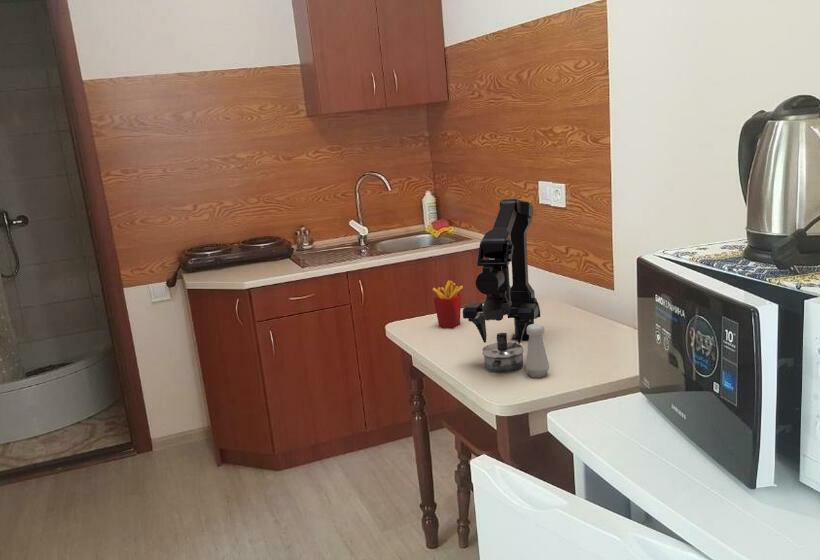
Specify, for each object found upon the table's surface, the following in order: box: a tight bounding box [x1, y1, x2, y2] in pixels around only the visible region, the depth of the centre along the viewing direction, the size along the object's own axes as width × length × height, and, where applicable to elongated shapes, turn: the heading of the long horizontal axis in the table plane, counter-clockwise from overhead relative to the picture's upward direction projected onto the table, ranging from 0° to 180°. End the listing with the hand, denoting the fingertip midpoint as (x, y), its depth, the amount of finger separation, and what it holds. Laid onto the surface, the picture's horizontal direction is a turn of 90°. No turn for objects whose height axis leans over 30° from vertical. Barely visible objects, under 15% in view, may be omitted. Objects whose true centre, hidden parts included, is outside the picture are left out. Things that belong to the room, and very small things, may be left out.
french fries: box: [431, 279, 464, 329], centre depth 227 cm, size 9×8×15 cm
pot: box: [483, 353, 524, 374], centre depth 188 cm, size 15×10×4 cm, turn 158°
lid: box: [482, 332, 524, 359], centre depth 187 cm, size 11×11×5 cm
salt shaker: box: [525, 323, 550, 378], centre depth 179 cm, size 6×6×13 cm
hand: (502, 342), depth 187 cm, fingers open, 9 cm apart
